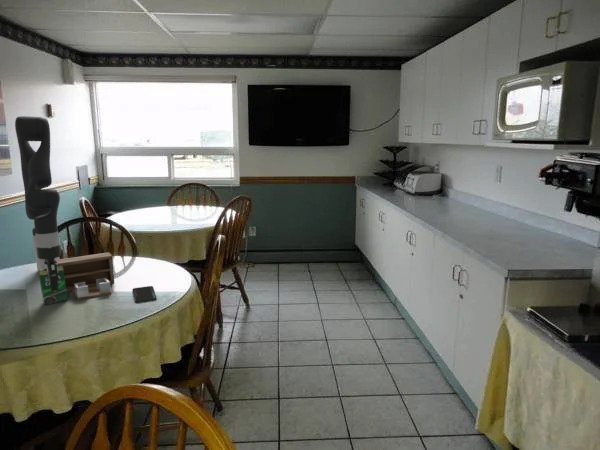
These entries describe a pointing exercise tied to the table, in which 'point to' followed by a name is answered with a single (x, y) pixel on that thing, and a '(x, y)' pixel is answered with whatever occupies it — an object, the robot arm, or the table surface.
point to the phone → (144, 294)
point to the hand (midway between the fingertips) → (53, 287)
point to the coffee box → (46, 290)
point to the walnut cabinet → (87, 272)
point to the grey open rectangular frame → (101, 285)
